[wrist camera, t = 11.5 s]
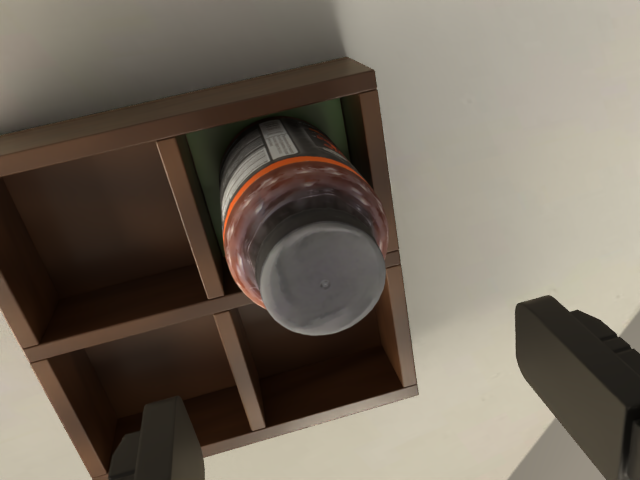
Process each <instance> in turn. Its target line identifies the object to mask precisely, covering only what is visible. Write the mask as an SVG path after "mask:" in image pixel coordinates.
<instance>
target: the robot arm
mask: <svg viewBox="0 0 640 480" xmlns="http://www.w3.org/2000/svg"><path fill="white" fill-rule="evenodd" d="M515 331H516V358H517V362H518V366H519V368H520V371H521V373H522V375H523V376H524V378H525V379H526V381H527V382H528V383H529V385H530V386H531V387H532V388H533V390H534V391H535V392H536V393H537V394H538V396H539V397H540V398H541V399H542V401H543V402H544V403H545V404H546V406H547V407H548V408H549V409H550V411H551V412H552V413H553V414H554V416H555V417H556V418H557V419H558V420H559V422H560V423H561V424H562V425H563V426H564V428H565V429H566V430H567V432H568V433H569V434H570V435H571V437H572V438H573V439H574V440H575V441H576V443H577V444H578V445H579V446H580V448H581V449H582V450H583V451H584V453H585V454H586V455H587V456H588V458H589V459H590V460H591V461H592V463H593V464H594V465H595V466H596V467H597V468H598V470H599V471H600V472H601V474H602V475H603V476H604V477H605V478H606V480H640V354H639V353H638V352H637V351H636V350H635V349H631V347H630V345H629V344H628V343H627V342H625V341H624V340H623V339H622V338H620V337H617V334H616V333H615V332H614V331H613V330H611V329H610V328H609V327H608V326H607V325H606V324H604V323H603V322H602V321H601V320H599V319H597V318H595V317H593V316H590V315H588V314H586V313H584V312H581V311H579V310H575V311H572V312H569V311H568V310H567V309H566V308H565V307H564V306H562V305H561V304H560V303H559V302H558V301H557V300H556V299H555V298H553V297H552V296H549V295H547V296H543V297H539V298H536V299H532V300H528V301H525V302H521V303H518V304H517V305H516V309H515ZM108 479H109V480H205V469H204V460H203V455H202V450H201V447H200V443H199V441H198V438H197V436H196V433H195V431H194V428H193V426H192V423H191V421H190V418H189V415H188V413H187V410H186V408H185V405H184V403H183V401H182V399H181V397H180V396H179V395H178V396H174V397H170V398H167V399H163V400H159V401H156V402H152V403H148V404H146V405H145V406H144V410H143V416H142V424H141V430H140V431H136V432H132V433H129V434H125V436H124V437H123V439H122V441H121V442H120V444H119V445H118V447H117V449H116V450H115V452H114V454H113V455H112V459H111V464H110V469H109V475H108Z"/></svg>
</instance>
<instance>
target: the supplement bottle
mask: <svg viewBox="0 0 640 480" xmlns="http://www.w3.org/2000/svg"><path fill="white" fill-rule="evenodd" d="M219 190H220V203H221V218H222V230H223V231H222V233H223V241H224V251H225V257H226V261H227V264H228V267H229V270H230V272H231V275H232V277H233V279H234V281H235V282H236V284H237V285H238V286H239V288H240V289H241V290H242V291H243V292H244V293H245V295H246V296H247V297H248V298H250V299H251V300H252V301H253V302H255V303H256V304H257V305H259V306H261V307H263V308H265V309H267V311H268V312H269V313H270V315H271V316H272V317H273V319H274V320H275V321H277V322H278V323H280V324H281V325H282V326H284V327H285V328H287V329H289V330H291V331H293V332H296V333H301V334H305V335H315V336H317V335H327V334H333V333H337V332H340V331H342V330H345V329H347V328H349V327H351V326H353V325H354V324H356V323H358V322H359V321H360V320H362V319H363V318H364V317H365V316H366V315H367V314H368V313H369V312H370V311H371V310H372V309H373V307H374V306H375V305H376V303H377V302H378V300H379V298H380V295H381V294H382V291H383V289H384V285H385V278H386V268H385V261H384V260H385V257H386V252H387V249H388V241H389V238H388V236H389V228H388V222H387V218H386V214H385V211H384V208H383V206H382V202H381V201H380V199H379V198H378V196H377V195H376V193H375V192H374V190H373V189H372V188H371V187H370V185H369V184H368V183H367V181H366V180H365V179H364V178H363V177H362V176H361V175H360V173H359V172H358V171H357V170H356V168H355V167H354V166H353V165H352V164H351V163H350V162H349V161H348V160H347V159H346V157H345V156H344V155H343V154H342V153H341V151H340V150H339V149H338V148H337V147H336V145H335V144H334V143H333V142H332V141H331V139H330V138H329V137H328V136H327V135H326V134H325V133H323V132H322V131H321V130H319V129H318V128H317V127H315V126H314V125H312V124H310V123H308V122H306V121H304V120H301V119H298V118H294V117H288V116H275V117H269V118H265V119H262V120H258V121H256V122H254V123H252V124H250V125H248V126H247V127H245V128H244V129H242V130H241V131H240V132H239V133H238V134H237V135H236V136H235V137H234V138H233V140H232V141H231V142H230V144H229V145H228V147H227V149H226V151H225V153H224V156H223V158H222V162H221V165H220V170H219Z"/></svg>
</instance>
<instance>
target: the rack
mask: <svg viewBox="0 0 640 480" xmlns="http://www.w3.org/2000/svg"><path fill="white" fill-rule="evenodd" d="M275 116H288V117H294V118H298V119H301V120H304V121H306V122H308V123H310V124H312V125H314V126H315V127H317V128H318V129H319V130H321V131H322V132H323V133H325V134H326V135H327V136H328V137H329V138H330V139H331V141H332V142H333V143H334V144H335V145H336V147H337V148H338V149H339V150H340V151H341V153H342V154H343V155H344V156H345V157H346V159H347V160H348V161H349V162H350V163H351V164H352V165H353V166H354V167H355V168H356V170H357V171H358V172H359V173H360V175H361V176H362V177H363V178H364V179H365V180H366V181H367V183H368V184H369V185H370V187H371V188H372V189H373V190H374V192H375V193H376V195H377V196H378V198H379V199H380V201H381V202H382V206H383V208H384V211H385V214H386V218H387V222H388V228H389V236H388V238H389V241H388V249H387V252H386V257H385V260H384V261H385V268H386V278H385V285H384V289H383V291H382V294H381V295H380V298H379V300H378V302H377V303H376V305H375V306H374V307H373V309H372V310H371V311H370V312H369V313H368V314H367V315H366V316H365V317H364V318H363V319H362V320H360V321H359V322H358V323H356V324H354V325H353V326H351V327H349V328H347V329H345V330H342V331H340V332H337V333H333V334H327V335H317V336H315V335H305V334H301V333H296V332H293V331H291V330H289V329H287V328H285V327H284V326H282V325H281V324H280V323H278V322H277V321H275V320H274V319H273V317H272V316H271V315H270V313H269V312H268V311H267V309H265V308H263V307H261V306H259V305H257V304H256V303H255V302H253V301H252V300H251V299H250V298H248V297H247V296H246V295H245V293H244V292H243V291H242V290H241V289H240V288H239V286H238V285H237V284H236V282H235V281H234V279H233V277H232V275H231V272H230V270H229V267H228V264H227V261H226V257H225V251H224V241H223V233H222V231H223V230H222V218H221V203H220V190H219V170H220V165H221V162H222V158H223V156H224V153H225V151H226V149H227V147H228V145H229V144H230V142H231V141H232V140H233V138H234V137H235V136H236V135H237V134H238V133H239V132H240V131H241V130H242V129H244V128H245V127H247V126H248V125H250V124H252V123H254V122H256V121H258V120H262V119H265V118H269V117H275ZM398 249H399V246H398V238H397V231H396V223H395V216H394V209H393V201H392V194H391V186H390V179H389V172H388V164H387V157H386V149H385V142H384V135H383V127H382V120H381V112H380V105H379V98H378V90H377V84H376V77H375V71H374V70H373V69H371V68H369V67H367V66H365V65H363V64H361V63H359V62H357V61H355V60H353V59H351V58H349V57H343V58H338V59H334V60H330V61H325V62H321V63H316V64H312V65H307V66H303V67H299V68H294V69H290V70H285V71H281V72H277V73H272V74H268V75H263V76H259V77H255V78H250V79H246V80H241V81H237V82H232V83H228V84H224V85H219V86H215V87H210V88H206V89H202V90H197V91H193V92H188V93H184V94H180V95H175V96H171V97H166V98H162V99H157V100H153V101H149V102H144V103H140V104H135V105H131V106H127V107H122V108H118V109H113V110H109V111H105V112H100V113H96V114H91V115H87V116H82V117H78V118H74V119H69V120H65V121H60V122H56V123H52V124H47V125H43V126H38V127H34V128H30V129H25V130H21V131H16V132H12V133H7V134H3V135H0V310H1V312H2V314H3V316H4V318H5V320H6V321H7V323H8V325H9V327H10V329H11V331H12V332H13V334H14V336H15V338H16V340H17V342H18V343H19V345H20V347H21V348H22V350H23V352H24V354H25V356H26V358H27V360H28V362H29V363H30V366H31V368H32V369H33V371H34V373H35V375H36V377H37V379H38V380H39V382H40V384H41V386H42V388H43V390H44V391H45V393H46V395H47V397H48V399H49V401H50V402H51V404H52V406H53V408H54V410H55V412H56V413H57V415H58V417H59V419H60V421H61V423H62V424H63V426H64V428H65V430H66V432H67V433H68V435H69V437H70V439H71V441H72V443H73V444H74V446H75V448H76V450H77V452H78V454H79V455H80V457H81V459H82V461H83V463H84V465H85V466H86V468H87V470H88V472H89V474H90V476H91V477H92V480H109V479H108V475H109V469H110V464H111V459H112V455H113V454H114V452H115V450H116V449H117V447H118V445H119V444H120V442H121V441H122V439H123V437H124V436H125V434H129V433H132V432H136V431H140V430H141V424H142V416H143V410H144V406H145V405H146V404H148V403H152V402H156V401H159V400H163V399H167V398H170V397H174V396H178V395H179V396H180V397H181V399H182V401H183V403H184V405H185V408H186V410H187V413H188V415H189V418H190V421H191V423H192V426H193V428H194V431H195V433H196V436H197V438H198V441H199V443H200V447H201V450H202V455H203V458H205V457H208V456H211V455H215V454H218V453H222V452H225V451H229V450H232V449H235V448H239V447H242V446H246V445H249V444H252V443H256V442H259V441H263V440H266V439H270V438H273V437H276V436H280V435H283V434H287V433H290V432H294V431H297V430H300V429H304V428H307V427H311V426H314V425H318V424H321V423H324V422H328V421H331V420H335V419H338V418H341V417H345V416H348V415H352V414H355V413H359V412H362V411H365V410H369V409H372V408H376V407H379V406H383V405H386V404H389V403H393V402H396V401H400V400H403V399H407V398H410V397H413V396H417V395H419V393H418V386H417V379H416V372H415V364H414V357H413V350H412V342H411V335H410V327H409V320H408V313H407V305H406V298H405V290H404V283H403V276H402V268H401V264H400V254H399V250H398Z"/></svg>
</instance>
